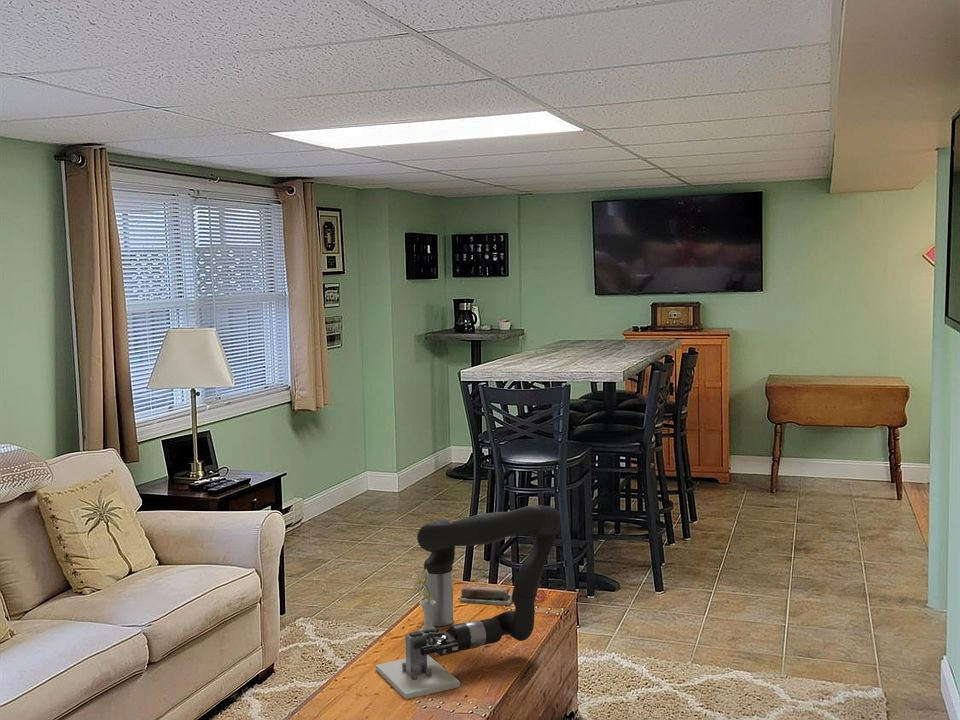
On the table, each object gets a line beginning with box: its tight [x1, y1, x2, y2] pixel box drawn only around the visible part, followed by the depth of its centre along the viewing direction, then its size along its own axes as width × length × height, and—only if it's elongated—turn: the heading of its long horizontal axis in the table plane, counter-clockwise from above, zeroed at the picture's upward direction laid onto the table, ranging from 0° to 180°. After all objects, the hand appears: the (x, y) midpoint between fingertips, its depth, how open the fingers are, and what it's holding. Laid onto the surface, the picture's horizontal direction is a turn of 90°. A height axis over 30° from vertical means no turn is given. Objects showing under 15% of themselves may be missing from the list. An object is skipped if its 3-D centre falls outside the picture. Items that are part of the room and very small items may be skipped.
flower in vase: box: [412, 568, 441, 646], centre depth 286 cm, size 13×11×25 cm
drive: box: [404, 630, 427, 676], centre depth 264 cm, size 3×5×12 cm, turn 118°
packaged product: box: [459, 584, 513, 606], centre depth 329 cm, size 18×5×10 cm
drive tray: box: [375, 654, 461, 700], centre depth 264 cm, size 22×16×4 cm
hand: (414, 646), depth 263 cm, fingers open, 8 cm apart
